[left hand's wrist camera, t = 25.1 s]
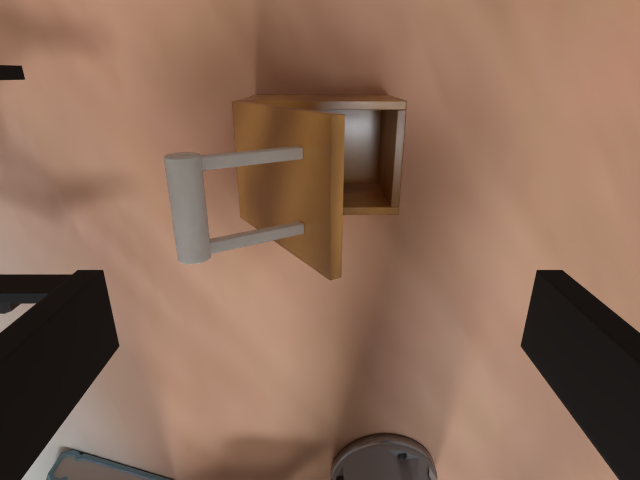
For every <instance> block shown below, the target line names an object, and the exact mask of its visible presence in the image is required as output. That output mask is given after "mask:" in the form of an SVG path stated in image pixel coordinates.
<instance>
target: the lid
mask: <svg viewBox="0 0 640 480" xmlns="http://www.w3.org/2000/svg"><path fill="white" fill-rule="evenodd" d="M232 108H233V122H234V136H235V150H236V152H231V153H221V154H211V155H200V154H198V153H191V152H183V153H173V154H168V155H166V156H164V161H165V169H166V176H167V183H168V191H169V198H170V205H171V213H172V220H173V227H174V235H175V242H176V249H177V257H178V261H179V262H181V263H183V264H198V263H202V262H205V261H207V260H209V259H210V258H211V254H213V253H217V252H222V251H227V250H231V249H236V248H240V247H245V246H249V245H254V244H259V243H263V242H268V241H272V240H273V241H275V242H276V243H278V244H279V245H280V246H282V247H283V248H285V249H286V250H288V251H289V252H290V253H292V254H293V255H295V256H296V257H297V258H299V259H300V260H302V261H303V262H305V263H306V264H307V265H309V266H310V267H312V268H313V269H315V270H316V271H317V272H319V273H320V274H322V275H323V276H324V277H326V278H327V279H329V280H333V279H337V278H340V277H341V270H342V226H343V182H344V138H345V115H344V114H338V113H331V112H323V111H316V110H308V109H301V108H293V107H286V106H278V105H271V104H263V103H256V102H248V101H232ZM229 167H237V177H238V191H239V205H240V217H241V218H242V219H244V220H245V221H246V222H248V223H249V224H251V225H252V226H253V227H255V228H256V229H257V230H252V231H247V232H242V233H237V234H232V235H227V236H222V237H217V238H212V239H209V229H208V219H207V210H206V200H205V191H204V181H203V171H204V170H212V169H221V168H229Z"/></svg>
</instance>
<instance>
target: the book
mask: <svg viewBox="0 0 640 480" xmlns="http://www.w3.org/2000/svg"><path fill="white" fill-rule="evenodd" d="M46 480H170V479H167V478H164V477H161V476H157V475H154V474H151V473H147V472H144V471H141V470H137V469H134V468H131V467H128V466H124V465H121V464H118V463H114V462H111V461H108V460H104V459H101V458H98V457H95V456H91V455H88V454H81V455H80V454H79V452H78V451H75V450H70V451H67V452H64V453H62V454H61V455H60V457H59V458H58V460H57V461H56V463H55V464H54V466H53V467H52V469H51V470H50V471H49V473H48V476H47V479H46Z"/></svg>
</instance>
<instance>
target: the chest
mask: <svg viewBox="0 0 640 480" xmlns="http://www.w3.org/2000/svg"><path fill="white" fill-rule="evenodd" d="M239 101H248V102H256V103H263V104H271V105H278V106H286V107H293V108H301V109H308V110H316V111H323V112H331V113H338V114H344V115H345V138H344V182H343V215H398V212H399V200H400V186H401V173H402V159H403V146H404V133H405V119H406V105H407V101H406V100H402V99H399V98H396V97H393V96H390V95H254V96H251V97H248V98H245V99H242V100H239Z"/></svg>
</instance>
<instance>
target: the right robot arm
mask: <svg viewBox="0 0 640 480" xmlns="http://www.w3.org/2000/svg"><path fill="white" fill-rule="evenodd" d="M0 80H25V78H24V73H23V69H22V66H10V65H0ZM70 276H71V275H0V314H5V313H7V312H10V311H12V310H13V309H15V308H16V307H17V306H18V305H20V304H21V303H38V302H39V301H40V300H42V299H43V298H44V297H45V296H46V295H48V294H49V293H50V292H51V291H53V290H54V289H55V288H56V287H58V286H59V285H60V284H61V283H62V282H64V281H65V280H66V279H67V278H69V277H70Z"/></svg>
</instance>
